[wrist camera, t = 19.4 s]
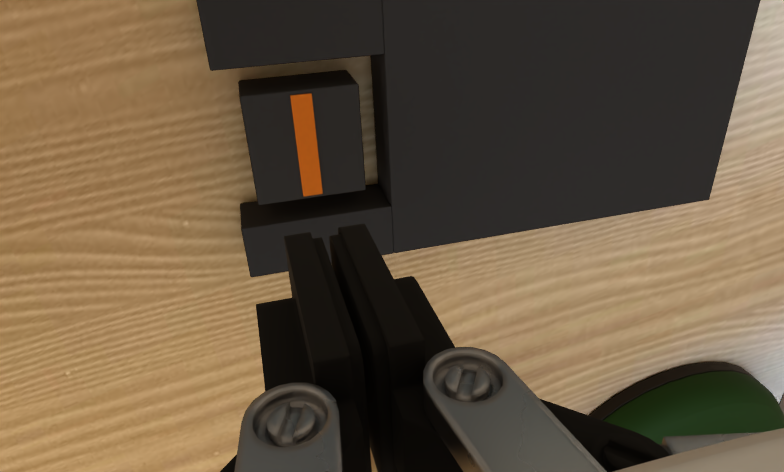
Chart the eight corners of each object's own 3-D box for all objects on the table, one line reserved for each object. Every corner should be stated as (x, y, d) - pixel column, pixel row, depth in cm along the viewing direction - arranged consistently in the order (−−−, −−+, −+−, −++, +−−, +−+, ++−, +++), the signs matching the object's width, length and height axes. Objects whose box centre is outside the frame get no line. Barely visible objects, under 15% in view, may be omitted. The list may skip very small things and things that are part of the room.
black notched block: (248, 249, 33) (250, 278, 30) (198, -9, 26) (195, -2, 24) (675, 181, 39) (709, 199, 36) (725, -45, 32) (771, -43, 29)
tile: (238, 80, 29) (239, 96, 26) (346, 69, 30) (359, 84, 27) (255, 181, 31) (258, 206, 28) (354, 168, 32) (366, 191, 30)
